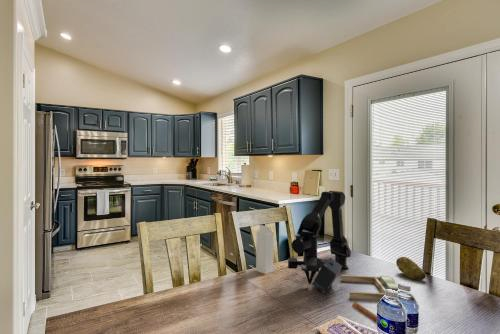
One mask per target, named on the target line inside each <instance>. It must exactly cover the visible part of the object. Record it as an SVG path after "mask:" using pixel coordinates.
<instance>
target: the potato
mask: <svg viewBox="0 0 500 334" xmlns="http://www.w3.org/2000/svg"><path fill="white" fill-rule="evenodd" d="M395 264H396V267H397V268H398V270H399V271H400V272H401V273H403V275H404V276H405V277H406V278H409V279H412V280H414V281H422V280H425V279H426V272H425V271H424V270H423V269H422V267H420V266H419V265H418V264H417V263H416V262H415V261H413V260H412V259H411V258H409V257H407V256H400V257H399V258H397V259H396V263H395Z"/></svg>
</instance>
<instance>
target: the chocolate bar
mask: <svg viewBox="0 0 500 334" xmlns="http://www.w3.org/2000/svg"><path fill="white" fill-rule="evenodd" d="M351 307H352V308H353V309H355V310H357V311H358V312H360V313H361V314H362V315H364V316H365V317H366V318H368V319H370V320H371V321H372V322H373V323H375V324H378V323H377V315H376V314H375V313H373V311H372V312H371V310H369V309H367V308H365V307H364V306H363V305H361V304H359V303H357V302H356V301H355V300H354V301H353V302H352V305H351Z"/></svg>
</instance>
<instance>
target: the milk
mask: <svg viewBox="0 0 500 334" xmlns="http://www.w3.org/2000/svg"><path fill="white" fill-rule="evenodd" d="M274 233H275V232H274V231H272V230H271V227H270V226H267V225H263V224H260V228H259V229H258V230H257V231H256V246H255V247H256V249H255V250H256V253H255V254H256V255H255V256H256V257H255V259H256V260H255V271H256V272H258V273H261V274H264V275H267V274H269V273H271V272H273V271H274V247H275V246H274V242H275V241H274V240H275V239H274V235H275V234H274Z"/></svg>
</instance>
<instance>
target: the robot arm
mask: <svg viewBox="0 0 500 334" xmlns="http://www.w3.org/2000/svg"><path fill="white" fill-rule="evenodd" d="M345 202H346V195H345V193H344V192H343V191H339V190H338V191H337V190H329V191H325V190H324V191H322V192H321V194H320V197H319V198H318V200H317V203H316V204H315V205H314V207H313V209H312V210H311V212H309V213H308V214H306V215H305V216H304V217H303V218H302V219H301V222H300V224H299V226H298V230H297V232H296V234H297V235H296V236H295V239H293V240H292V243H291V249H292V251H293V252H294V253H296V254H298V255H299V254H302V253H303V255H302V256H303V257H302V260H298V258H297V257H289V258H287V268H288V269H291V270H294V269H295V270H296V269H297V268H298V266H300V268H301V271H302V272H304V274H305V276H306V279H307V282H308V285H312V283H313V281H314V278H315V275H316V273H317V272H318V273H319V271H320V269H321V268H322V267H323V264H324V263H325V262H326V261H327V260H328V259H329V258H318V237H319V236H320V230H321V228H322V224H323V223H322V218H323V216H324V214H325V213H326V212H327V209H328V207H329V208H330V210H331V211H330V212H331V222H332V235H333V237H332V238H331V240H330V241H329V250H330V254H331V255H334V261H336V262H337V263H339V264H340V265H342V268H341V270H349V267H348V265H347V263H348V261H347V260H348V259H347V258H351V256H352V255H351V254H352V250H351V248H350V247H349V244H348V240H347V238H346V237H345V236H344V227H343V226H344V224H343V212H342V211H343V210H342V209H343V207H344V205H345ZM329 264H331V265H332V266H333V263H332V262H331V261H330V262H329Z"/></svg>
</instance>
